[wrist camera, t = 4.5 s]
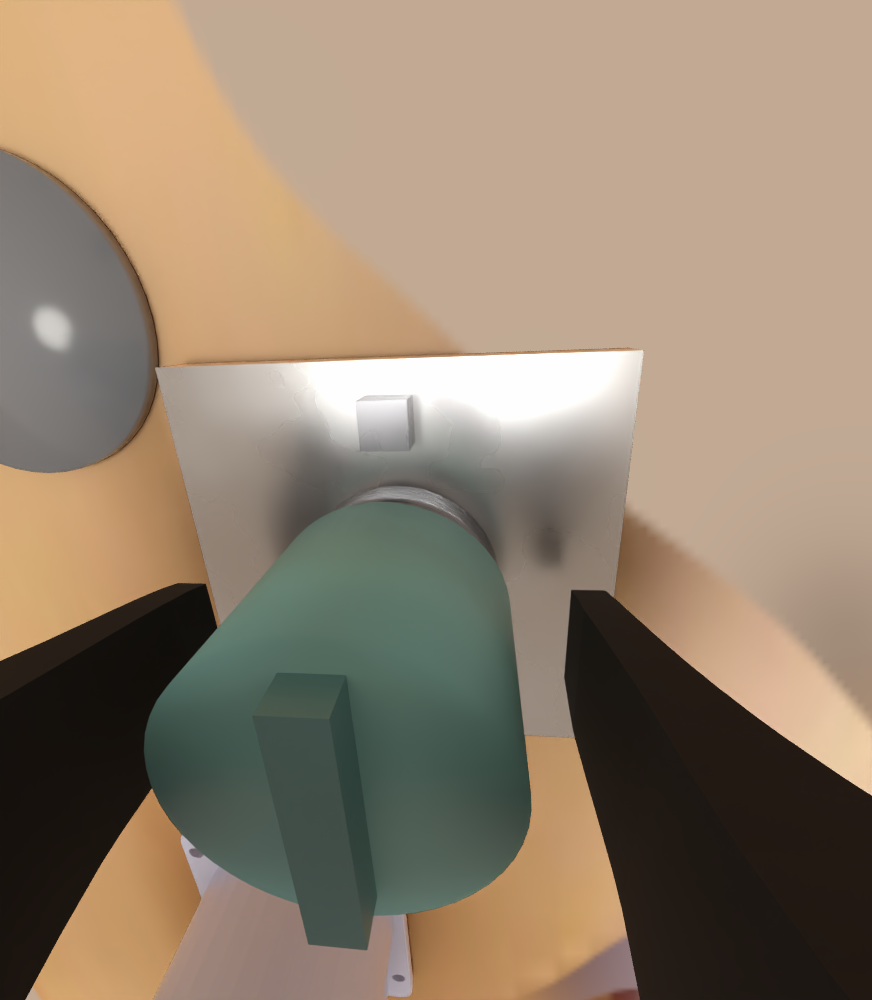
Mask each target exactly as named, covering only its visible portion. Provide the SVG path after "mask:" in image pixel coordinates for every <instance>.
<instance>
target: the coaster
mask: <svg viewBox="0 0 872 1000" xmlns="http://www.w3.org/2000/svg"><path fill="white" fill-rule="evenodd" d="M156 367H158V354H157V340H156V335H155V330H154V324H153V319H152V316H151V312H150V309H149V306H148V303H147V299H146V296H145V294H144V292H143V289H142V287H141V284H140V282H139V280H138V277H137V275H136V273H135V271H134V269H133V267H132V266H131V264H130V262H129V260H128V258H127V256H126V255H125V253H124V251H123V250H122V248H121V247H120V245H119V244H118V242H117V241H116V239H115V238H114V236H113V235H112V234H111V232H110V231H109V230H108V228H107V227H106V226H105V225H104V224H103V222H102V221H101V220H100V219H99V217H98V216H97V215H96V214H95V213H94V211H93V210H91V209H90V208H89V207H88V206H87V205H86V204H85V203H84V202H83V201H82V200H81V199H80V198H79V197H78V196H77V195H76V194H75V193H74V192H73V191H72V190H70V189H69V188H68V187H67V186H65V185H64V184H63V183H62V182H60V181H59V180H58V179H57V178H55V177H54V176H52V175H51V174H49V173H47V172H46V171H44V170H43V169H41V168H39V167H38V166H36V165H35V164H33V163H31V162H28V161H26V160H24V159H22V158H20V157H18V156H16V155H14V154H11V153H9V152H6V151H3V150H0V464H2V465H6V466H9V467H12V468H15V469H20V470H26V471H31V472H43V473H55V472H67V471H71V470H75V469H79V468H83V467H86V466H88V465H91V464H94V463H96V462H99V461H101V460H104V459H106V458H108V457H110V456H111V455H113V454H114V453H116V452H118V451H119V450H121V449H122V448H123V447H124V446H125V445H126V444H127V443H128V442H129V441H130V440H131V439H132V438H133V437H134V436H135V434H136V433H137V432H138V430H139V429H140V428H141V426H142V424H143V422H144V420H145V418H146V417H147V415H148V412H149V410H150V407H151V404H152V401H153V398H154V393H155V388H156V382H157V374H156V370H155V368H156Z"/></svg>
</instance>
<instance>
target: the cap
mask: <svg viewBox="0 0 872 1000" xmlns="http://www.w3.org/2000/svg"><path fill="white" fill-rule="evenodd" d="M144 756H145V764H146V770H147V773H148V777H149V780H150V784H151V787H152V789H153V791H154V793H155V795H156V797H157V799H158V802H159V804H160V805H161V807H162V808H163V810H164V811H165V813H166V815H167V816H168V818H169V819H170V820H171V822H172V823H173V824H174V825H175V827H176V828H177V829H178V830H179V831H180V833H181V834H182V835H183V836H184V837H185V838H186V839H187V840H188V841H189V842H190V843H191V844H192V845H193V846H194V847H195V848H196V849H197V850H198V851H200V852H201V853H202V854H203V855H205V856H206V857H207V858H208V859H209V860H211V861H212V862H213V863H215V864H216V865H218V866H219V867H221V868H222V869H224V870H225V871H227V872H228V873H230V874H231V875H233V876H235V877H236V878H238V879H240V880H242V881H244V882H245V883H247V884H249V885H251V886H253V887H255V888H258V889H260V890H262V891H264V892H266V893H268V894H271V895H274V896H276V897H279V898H282V899H284V900H287V901H290V902H293V903H297V904H298V905H299V909H300V913H301V917H302V921H303V925H304V929H305V933H306V937H307V941H308V945H317V946H327V947H337V948H347V949H357V950H368V945H369V939H370V934H371V928H372V922H373V917H374V916H386V915H402V914H410V913H418V912H423V911H427V910H432V909H436V908H440V907H443V906H446V905H449V904H452V903H455V902H457V901H459V900H462V899H464V898H466V897H468V896H470V895H472V894H474V893H476V892H477V891H479V890H481V889H482V888H484V887H485V886H487V885H489V884H490V883H491V882H492V881H493V880H495V879H496V878H497V877H498V876H499V875H500V874H502V873H503V872H504V870H505V869H506V868H507V867H508V866H509V865H510V863H511V862H512V861H513V860H514V858H515V857H516V855H517V853H518V852H519V850H520V848H521V847H522V845H523V843H524V840H525V837H526V834H527V831H528V829H529V823H530V816H531V791H530V781H529V772H528V763H527V754H526V744H525V735H524V726H523V717H522V707H521V698H520V689H519V680H518V670H517V661H516V652H515V643H514V633H513V624H512V615H511V606H510V599H509V594H508V589H507V586H506V583H505V581H504V578H503V575H502V573H501V571H500V569H499V568H498V566H497V564H496V562H495V560H494V559H493V558H492V556H491V555H490V554H489V552H488V551H487V550H486V548H485V547H484V546H483V545H482V544H481V543H480V542H479V541H478V540H477V539H476V538H475V537H474V536H472V535H471V534H470V533H469V532H467V531H466V530H465V529H464V528H462V527H461V526H459V525H458V524H456V523H454V522H453V521H451V520H449V519H448V518H446V517H443V516H441V515H439V514H437V513H435V512H432V511H430V510H426V509H423V508H420V507H417V506H412V505H407V504H401V503H392V502H371V503H362V504H356V505H351V506H347V507H344V508H341V509H338V510H335V511H333V512H331V513H329V514H327V515H325V516H323V517H321V518H319V519H318V520H316V521H315V522H313V523H312V524H310V525H309V526H308V527H307V528H305V529H304V530H303V531H302V532H301V533H300V534H299V535H298V536H297V537H296V538H295V540H294V541H293V542H292V543H291V544H290V545H289V546H288V548H287V549H286V550H285V551H284V552H283V553H282V554H281V556H280V557H279V558H278V559H277V560H276V561H275V563H274V564H273V565H272V566H271V567H270V568H269V569H268V571H267V572H266V573H265V574H264V575H263V576H262V578H261V579H260V580H259V581H258V582H257V583H256V584H255V586H254V587H253V588H252V589H251V590H250V591H249V592H248V594H247V595H246V596H245V597H244V598H243V599H242V601H241V602H240V603H239V604H238V605H237V606H236V607H235V609H234V610H233V611H232V612H231V613H230V614H229V616H228V617H227V618H226V619H225V620H224V621H223V622H222V624H221V625H220V626H219V627H218V628H217V629H216V631H215V632H214V633H213V634H212V635H211V636H210V637H209V639H208V640H207V641H206V642H205V643H204V644H203V645H202V647H201V648H200V649H199V650H198V651H197V652H196V654H195V655H194V656H193V657H192V658H191V659H190V660H189V662H188V663H187V664H186V665H185V666H184V667H183V669H182V670H181V671H180V672H179V673H178V674H177V675H176V677H175V678H174V679H173V680H172V681H171V682H170V683H169V685H168V686H167V687H166V689H165V690H164V691H163V693H162V694H161V695H160V697H159V698H158V699H157V701H156V703H155V705H154V707H153V710H152V712H151V714H150V716H149V719H148V723H147V727H146V731H145V740H144Z"/></svg>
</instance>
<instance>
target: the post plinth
mask: <svg viewBox="0 0 872 1000" xmlns="http://www.w3.org/2000/svg"><path fill="white" fill-rule="evenodd" d="M643 352H644V351H643V350H638V349H632V348H612V349H585V350H584V349H583V350H557V351H531V352H530V351H528V352H500V353H473V354H445V355H417V356H390V357H362V358H334V359H306V360H279V361H251V362H223V363H196V364H179V365H172V366H164V367H156V368H155V370H156V374H157V378H158V382H159V386H160V389H161V393H162V397H163V401H164V405H165V409H166V413H167V417H168V421H169V425H170V429H171V433H172V437H173V441H174V444H175V448H176V452H177V456H178V460H179V464H180V468H181V472H182V476H183V480H184V484H185V488H186V492H187V495H188V499H189V503H190V507H191V511H192V515H193V519H194V523H195V527H196V531H197V535H198V539H199V543H200V546H201V550H202V554H203V558H204V562H205V566H206V570H207V574H208V578H209V582H210V586H211V590H212V594H213V597H214V601H215V605H216V609H217V613H218V617H219V621H220V625H221V624H222V622H223V621H224V620H225V619H226V618H227V617H228V616H229V614H230V613H231V612H232V611H233V610H234V609H235V607H236V606H237V605H238V604H239V603H240V602H241V601H242V599H243V598H244V597H245V596H246V595H247V594H248V592H249V591H250V590H251V589H252V588H253V587H254V586H255V584H256V583H257V582H258V581H259V580H260V579H261V578H262V576H263V575H264V574H265V573H266V572H267V571H268V569H269V568H270V567H271V566H272V565H273V564H274V563H275V561H276V560H277V559H278V558H279V557H280V556H281V554H282V553H283V552H284V551H285V550H286V549H287V548H288V546H289V545H290V544H291V543H292V542H293V541H294V540H295V538H296V537H297V536H298V535H299V534H300V533H301V532H302V531H303V530H304V529H305V528H307V527H308V526H309V525H310V524H312V523H313V522H315V521H316V520H318V519H319V518H321V517H323V516H325V515H327V514H329V513H331V512H333V511H335V510H338V509H341V508H344V507H347V506H351V505H356V504H362V503H371V502H392V503H401V504H407V505H412V506H417V507H420V508H423V509H426V510H430V511H432V512H435V513H437V514H439V515H441V516H443V517H446V518H448V519H449V520H451V521H453V522H454V523H456V524H458V525H459V526H461V527H462V528H464V529H465V530H466V531H467V532H469V533H470V534H471V535H472V536H474V537H475V538H476V539H477V540H478V541H479V542H480V543H481V544H482V545H483V546H484V547H485V548H486V550H487V551H488V552H489V554H490V555H491V556H492V558H493V559H494V560H495V562H496V564H497V566H498V568H499V569H500V571H501V573H502V575H503V578H504V581H505V583H506V586H507V589H508V594H509V599H510V606H511V615H512V624H513V633H514V643H515V652H516V661H517V670H518V680H519V689H520V698H521V707H522V717H523V726H524V735H528V736H549V737H570V738H575V736H574V733H573V728H572V722H571V717H570V711H569V705H568V699H567V692H566V686H565V680H564V672H565V660H566V647H567V635H568V623H569V610H570V598H571V590H605V591H607V592H608V593H609V594H610V595H611V596H612V597H614V593H615V584H616V576H617V568H618V560H619V551H620V543H621V535H622V526H623V518H624V510H625V502H626V493H627V485H628V477H629V468H630V460H631V452H632V443H633V435H634V427H635V418H636V410H637V401H638V394H639V386H640V377H641V368H642V361H643Z"/></svg>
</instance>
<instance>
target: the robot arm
mask: <svg viewBox="0 0 872 1000" xmlns="http://www.w3.org/2000/svg"><path fill="white" fill-rule="evenodd" d="M216 629H217V625H216V621H215V617H214V613H213V609H212V605H211V602H210V598H209V594H208V590H207V586H206V584H190V583H177V584H174V585H171V586H168V587H166V588H163V589H160V590H158V591H155V592H153V593H150V594H148V595H146V596H143V597H141V598H139V599H136V600H134V601H132V602H130V603H127V604H125V605H123V606H121V607H119V608H116V609H114V610H112V611H110V612H108V613H106V614H103V615H101V616H99V617H97V618H95V619H93V620H90V621H88V622H86V623H84V624H82V625H80V626H77V627H75V628H73V629H71V630H69V631H67V632H64V633H62V634H60V635H58V636H56V637H54V638H51V639H49V640H47V641H45V642H43V643H40V644H38V645H36V646H34V647H31V648H29V649H27V650H24V651H22V652H20V653H18V654H15V655H13V656H11V657H8V658H6V659H4V660H2V661H0V1000H25V999H26V997H27V995H28V993H29V992H30V990H31V988H32V986H33V984H34V983H35V981H36V979H37V977H38V975H39V973H40V972H41V970H42V968H43V966H44V964H45V962H46V960H47V959H48V957H49V955H50V953H51V951H52V949H53V947H54V946H55V944H56V942H57V940H58V938H59V936H60V935H61V933H62V931H63V929H64V928H65V926H66V924H67V922H68V921H69V919H70V917H71V915H72V914H73V912H74V910H75V909H76V907H77V905H78V903H79V902H80V900H81V898H82V896H83V895H84V893H85V891H86V889H87V888H88V886H89V884H90V882H91V881H92V879H93V877H94V875H95V874H96V872H97V870H98V869H99V867H100V865H101V863H102V862H103V860H104V859H105V857H106V856H107V854H108V852H109V851H110V849H111V848H112V846H113V845H114V843H115V842H116V840H117V838H118V837H119V835H120V834H121V832H122V831H123V829H124V828H125V826H126V825H127V823H128V822H129V821H130V819H131V818H132V816H133V815H134V813H135V812H136V810H137V809H138V807H139V806H140V805H141V803H142V802H143V800H144V799H145V797H146V796H147V794H148V793H149V791H150V790H151V789H152V787H151V784H150V780H149V777H148V773H147V770H146V764H145V756H144V740H145V731H146V727H147V723H148V719H149V716H150V714H151V712H152V710H153V707H154V705H155V703H156V701H157V699H158V698H159V697H160V695H161V694H162V693H163V691H164V690H165V689H166V687H167V686H168V685H169V683H170V682H171V681H172V680H173V679H174V678H175V677H176V675H177V674H178V673H179V672H180V671H181V670H182V669H183V667H184V666H185V665H186V664H187V663H188V662H189V660H190V659H191V658H192V657H193V656H194V655H195V654H196V652H197V651H198V650H199V649H200V648H201V647H202V645H203V644H204V643H205V642H206V641H207V640H208V639H209V637H210V636H211V635H212V634H213V633H214V632H215V631H216ZM564 680H565V686H566V692H567V699H568V705H569V711H570V717H571V722H572V728H573V733H574V736H575V740H576V744H577V747H578V751H579V754H580V758H581V761H582V765H583V769H584V772H585V776H586V779H587V783H588V786H589V790H590V793H591V797H592V800H593V804H594V807H595V811H596V814H597V818H598V821H599V825H600V828H601V832H602V835H603V839H604V842H605V846H606V849H607V853H608V857H609V860H610V864H611V867H612V871H613V875H614V879H615V883H616V887H617V891H618V895H619V899H620V903H621V907H622V912H623V916H624V921H625V926H626V931H627V936H628V941H629V946H630V951H631V956H632V961H633V966H634V971H635V976H636V981H637V986H638V991H639V996H640V1000H872V796H871V795H870V794H868V793H867V792H865V791H863V790H862V789H860V788H859V787H857V786H856V785H854V784H853V783H851V782H849V781H848V780H846V779H845V778H843V777H842V776H840V775H839V774H837V773H836V772H834V771H833V770H832V769H830V768H829V767H827V766H826V765H824V764H823V763H821V762H820V761H818V760H817V759H815V758H814V757H812V756H811V755H810V754H808V753H807V752H805V751H804V750H802V749H801V748H799V747H798V746H796V745H795V744H793V743H792V742H790V741H789V740H788V739H786V738H785V737H783V736H782V735H780V734H779V733H778V732H776V731H775V730H773V729H772V728H771V727H769V726H768V725H767V724H765V723H764V722H762V721H761V720H760V719H758V718H757V717H756V716H754V715H753V714H752V713H750V712H749V711H748V710H746V709H745V708H744V707H743V706H741V705H740V704H739V703H737V702H736V701H735V700H733V699H732V698H731V697H730V696H728V695H727V694H726V693H724V692H723V691H722V690H720V689H719V688H718V687H717V686H715V685H714V684H713V683H711V682H710V681H709V680H708V679H707V678H705V677H704V676H703V675H702V674H700V673H699V672H698V671H697V670H695V669H694V668H693V667H692V666H691V665H689V664H688V663H687V662H686V661H685V660H683V659H682V658H681V657H680V656H679V655H678V654H676V653H675V652H674V651H673V650H672V649H671V648H669V647H668V646H667V645H666V644H665V643H664V642H663V641H661V640H660V639H659V638H658V637H657V636H656V635H655V634H653V633H652V632H651V631H650V630H649V629H648V628H647V627H646V626H645V625H643V624H642V623H641V622H640V621H639V620H638V619H637V618H636V617H635V616H633V615H632V614H631V613H630V612H629V611H628V610H627V609H626V608H625V607H624V606H622V605H621V604H620V603H619V602H618V601H617V600H616V599H615V598H614V597H612V596H611V595H610V594H609V593H608V592H607V591H605V590H571V598H570V610H569V623H568V635H567V647H566V660H565V672H564ZM181 844H182V847H183V849H184V852H185V855H186V858H187V860H188V863H189V866H190V868H191V871H192V874H193V876H194V879H195V882H196V884H197V887H198V890H199V893H200V895H201V898H202V899H201V901H200V903H199V906H198V908H197V910H196V912H195V914H194V916H193V918H192V920H191V922H190V924H189V926H188V928H187V930H186V932H185V934H184V936H183V938H182V941H181V943H180V945H179V947H178V949H177V951H176V953H175V955H174V957H173V959H172V961H171V963H170V965H169V967H168V969H167V971H166V973H165V976H164V978H163V980H162V982H161V984H160V986H159V988H158V990H157V992H156V994H155V996H154V998H153V1000H387V997H388V996H395V997H408V996H409V995H411V994H412V989H413V973H412V964H411V954H410V945H409V936H408V926H407V917H406V914H402V915H386V916H374V917H373V922H372V928H371V934H370V939H369V945H368V950H357V949H347V948H337V947H327V946H317V945H308V941H307V937H306V933H305V929H304V925H303V921H302V917H301V913H300V909H299V905H298V904H297V903H293V902H290V901H287V900H284V899H282V898H279V897H276V896H274V895H271V894H268V893H266V892H264V891H262V890H260V889H258V888H255V887H253V886H251V885H249V884H247V883H245V882H244V881H242V880H240V879H238V878H236V877H235V876H233V875H231V874H230V873H228V872H227V871H225V870H224V869H222V868H221V867H219V866H218V865H216V864H215V863H213V862H212V861H211V860H209V859H208V858H207V857H206V856H205V855H203V854H202V853H201V852H200V851H198V850H197V849H196V848H195V847H194V846H193V845H192V844H191V843H190V842H189V841H188V840H187V839H186V838H185V837H184V836H183V835H182V837H181Z"/></svg>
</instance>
